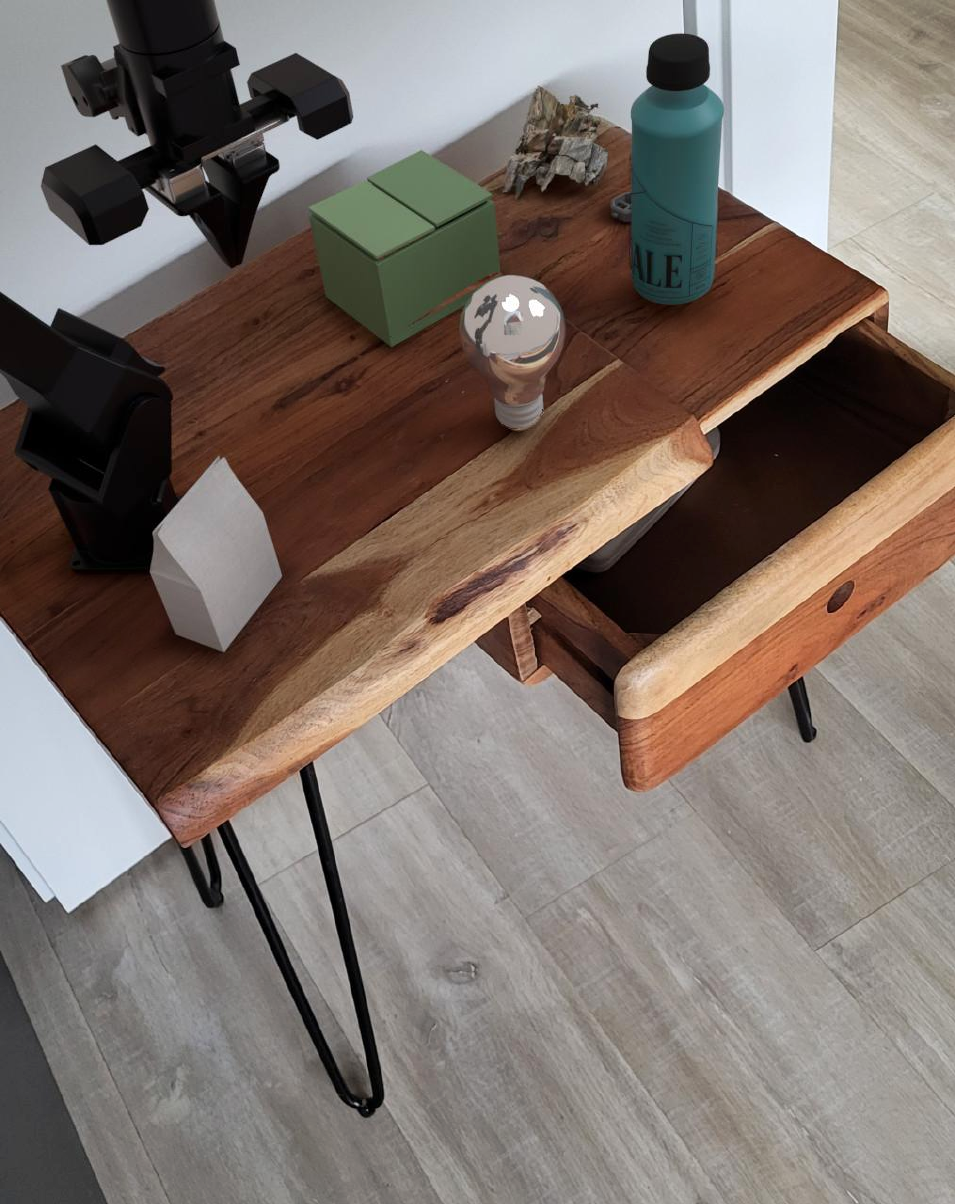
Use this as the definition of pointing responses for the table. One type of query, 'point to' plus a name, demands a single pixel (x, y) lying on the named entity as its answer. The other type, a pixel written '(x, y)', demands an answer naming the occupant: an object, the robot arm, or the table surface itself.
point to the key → (619, 202)
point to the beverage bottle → (675, 173)
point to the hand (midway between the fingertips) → (233, 263)
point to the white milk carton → (213, 559)
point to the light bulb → (513, 343)
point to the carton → (413, 252)
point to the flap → (371, 219)
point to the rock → (557, 143)
